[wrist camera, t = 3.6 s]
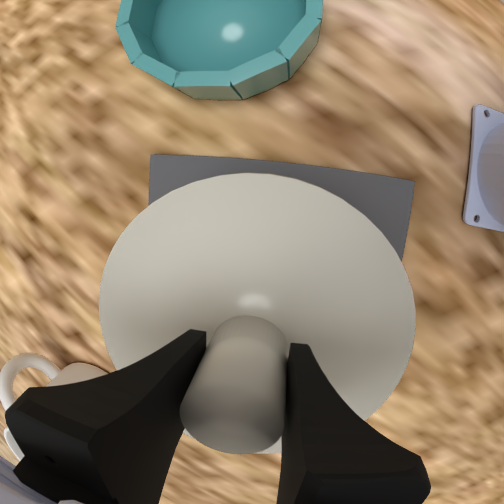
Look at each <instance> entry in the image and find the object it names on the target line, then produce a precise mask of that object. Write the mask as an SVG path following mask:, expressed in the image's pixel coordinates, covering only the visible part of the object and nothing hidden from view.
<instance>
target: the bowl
mask: <svg viewBox="0 0 504 504" xmlns="http://www.w3.org/2000/svg"><path fill="white" fill-rule="evenodd" d="M322 5H323V0H121V4H120V8H119V13H118V17H117V22H116V27H117V28H116V30H117V32H118V35H119V37H120V39H121V42H122V44H123V46H124V49H125V51H126V53H127V56H128V58H129V60H130V62H131V64H132V65H134V66H136V67H138V68H139V69H141V70H143V71H145V72H147V73H149V74H151V75H152V76H154V77H156V78H158V79H160V80H162V81H163V82H165V83H167V84H169V85H170V86H172V87H174V88H176V89H178V90H179V91H181V92H183V93H185V94H186V95H188V96H190V97H192V98H195V99H209V100H242V98H244V99H246V98H248V97H251V96H254V95H257V94H260V93H262V92H265V91H267V90H269V89H271V88H273V87H275V86H277V85H279V84H280V83H282V82H284V81H287V80H288V78H291V77H292V75H293V74H294V73H295V72H296V71H297V70H298V69H299V67H300V66H301V65H302V64H303V63H304V61H305V60H306V59H307V57H308V56H309V54H310V52H311V51H312V50H313V49H314V47H315V46H316V45H317V43H318V37H319V32H320V27H321V22H322Z"/></svg>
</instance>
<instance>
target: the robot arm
mask: <svg viewBox="0 0 504 504" xmlns="http://www.w3.org/2000/svg"><path fill="white" fill-rule="evenodd" d="M484 111H485V112H486V113H487V117H485V115H484ZM475 215H477V220H476V221H474V216H475ZM463 221H464V222H465V223H466V224H468V225H472V226H477V227H482V228H487V229H492V230H497V231H501V232H504V113H501V112H499V111H496V110H494V109H491V108H489V107H486V106H483V105H480V104H478V105H475V106H474V107H473V118H472V141H471V154H470V166H469V175H468V184H467V191H466V198H465V205H464V211H463ZM205 350H206V331H200V330H194V329H190V330H188V331H186V332H185V333H183V334H182V335H180V336H179V337H177V338H176V339H174V340H173V341H171V342H170V343H168V344H167V345H165V346H163V347H162V348H160V349H159V350H157V351H155V352H154V353H152V354H150V355H148V356H146V357H145V358H143V359H141V360H139V361H137V362H135V363H133V364H131V365H129V366H127V367H124V368H122V369H120V370H117V371H115V372H112V373H109V374H106V375H103V376H99V377H96V378H93V379H89V380H86V381H81V382H76V383H71V384H65V385H58V386H47V387H29V388H28V389H27V390H26V391H25V392H24V393H23V394H22V395H21V396H20V397H19V398H18V399H17V400H16V401H15V402H14V403H13V404H12V405H11V406H10V407H9V408H8V409H7V410H6V412H5V419H6V424H7V426H8V428H9V430H10V432H11V434H12V436H13V438H14V439H15V441H16V443H17V444H18V446H19V448H20V449H21V451H22V453H23V454H24V457H23V458H22V460H21V461H20V462H19V463H18V465H17V466H15V465H13V464H12V463H10V462H9V461H7V460H6V459H4V458H3V457H1V456H0V504H159V500H160V496H161V493H162V489H163V486H164V483H165V479H166V476H167V473H168V470H169V467H170V464H171V461H172V458H173V455H174V452H175V449H176V446H177V444H178V442H179V439H180V437H181V435H182V433H183V431H184V429H185V427H184V426H183V424H182V421H181V418H180V406H181V403H182V401H183V398H184V396H185V394H186V392H187V390H188V387H189V385H190V383H191V381H192V379H193V377H194V374H195V372H196V370H197V368H198V366H199V363H200V361H201V359H202V357H203V355H204V353H205ZM281 443H282V459H281V472H280V481H279V489H278V497H277V504H422V503H423V502H424V500H425V499H426V498H427V496H428V495H429V493H430V489H431V485H430V481H429V478H428V474H427V471H426V468H425V466H424V464H423V462H422V459H421V457H420V456H419V455H417V454H415V453H413V452H411V451H409V450H407V449H405V448H403V447H401V446H399V445H397V444H396V443H394V442H392V441H391V440H389V439H388V438H386V437H385V436H383V435H382V434H380V433H379V432H378V431H376V430H375V429H374V428H372V427H371V426H370V425H369V424H368V423H366V422H365V421H364V420H363V419H362V418H360V417H359V416H358V415H357V414H356V413H355V412H354V411H353V410H352V409H351V408H350V407H349V406H348V405H347V404H346V402H345V401H344V400H343V399H342V398H341V396H340V395H339V394H338V393H337V391H336V390H335V389H334V387H333V386H332V385H331V383H330V382H329V380H328V379H327V377H326V375H325V374H324V372H323V371H322V369H321V367H320V366H319V364H318V362H317V360H316V358H315V356H314V354H313V352H312V350H311V348H310V346H309V345H308V344H301V343H290V350H289V356H288V365H287V388H286V405H285V421H284V430H283V433H282V436H281Z"/></svg>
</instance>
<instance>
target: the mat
mask: <svg viewBox="0 0 504 504" xmlns="http://www.w3.org/2000/svg"><path fill="white" fill-rule="evenodd" d="M237 173H269V174H276V175H281V176H287V177H292V178H296V179H299V180H302V181H305V182H308V183H311V184H314V185H316V186H319V187H321V188H323V189H325V190H327V191H329V192H331V193H333V194H335V195H336V196H338V197H340V198H342V199H343V200H344V201H346V202H347V203H349V204H350V205H351V206H353V207H354V208H355V209H357V210H358V211H360V212H361V213H362V214H363V215H365V216H366V217H367V218H368V219H369V220H370V221H371V222H372V223H373V224H374V225H375V226H376V227H377V228H378V229H379V230H380V231H381V232H382V233H383V235H384V236H385V237H386V239H387V240H388V241H389V243H390V244H391V245H392V247H393V248H394V249H395V251H396V253H397V255H398V256H399V258H400V260H401V262H402V257H403V252H404V247H405V242H406V237H407V231H408V225H409V220H410V213H411V207H412V200H413V193H414V185H415V181H410V180H405V179H399V178H394V177H388V176H382V175H376V174H370V173H364V172H357V171H350V170H344V169H336V168H329V167H321V166H313V165H305V164H296V163H286V162H276V161H265V160H253V159H240V158H226V157H208V156H185V155H151V157H150V178H149V205H150V204H152V203H153V202H155V201H156V200H158V199H159V198H161V197H163V196H164V195H166V194H168V193H169V192H171V191H173V190H176V189H178V188H180V187H183V186H185V185H187V184H190V183H192V182H196V181H199V180H203V179H207V178H211V177H216V176H220V175H226V174H237Z"/></svg>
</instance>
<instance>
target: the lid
mask: <svg viewBox="0 0 504 504" xmlns="http://www.w3.org/2000/svg"><path fill="white" fill-rule="evenodd" d="M99 315H100V323H101V329H102V334H103V338H104V341H105V344H106V347H107V350H108V353H109V355H110V357H111V360H112V362H113V364H114V366H115V368H116V370H120V369H122V368H124V367H127V366H129V365H131V364H133V363H135V362H137V361H139V360H141V359H143V358H145V357H146V356H148V355H150V354H152V353H154V352H155V351H157V350H159V349H160V348H162V347H163V346H165V345H167V344H168V343H170V342H171V341H173V340H174V339H176V338H177V337H179V336H180V335H182V334H183V333H185V332H186V331H188V330H190V329H194V330H200V331H206V350H205V353H204V355H203V357H202V359H201V361H200V363H199V366H198V368H197V370H196V372H195V374H194V377H193V379H192V381H191V383H190V385H189V387H188V390H187V392H186V394H185V396H184V398H183V401H182V403H181V406H180V418H181V421H182V424H183V426H184V427H185V429H184V431H183V433H184V434H186V435H187V436H190V437H192V438H194V439H196V440H197V441H199V442H200V443H202V444H204V445H206V446H208V447H210V448H212V449H215V450H218V451H221V452H225V453H231V454H251V453H282V443H281V436H282V433H283V430H284V421H285V405H286V388H287V365H288V356H289V350H290V343H301V344H308V345H309V346H310V348H311V350H312V352H313V354H314V356H315V358H316V360H317V362H318V364H319V366H320V367H321V369H322V371H323V372H324V374H325V375H326V377H327V379H328V380H329V382H330V383H331V385H332V386H333V387H334V389H335V390H336V391H337V393H338V394H339V395H340V396H341V398H342V399H343V400H344V401H345V402H346V404H347V405H348V406H349V407H350V408H351V409H352V410H353V411H354V412H355V413H356V414H357V415H358V416H359V417H360V418H362V419H363V420H364V421H365V420H366V419H367V418H369V417H370V416H371V415H372V414H373V413H374V412H375V411H377V410H378V409H379V408H380V406H381V405H382V404H383V403H384V402H385V401H386V400H387V398H388V397H389V396H390V395H391V393H392V392H393V390H394V389H395V387H396V386H397V384H398V383H399V381H400V379H401V377H402V375H403V373H404V371H405V369H406V367H407V364H408V361H409V358H410V355H411V352H412V348H413V343H414V336H415V330H416V310H415V304H414V297H413V291H412V288H411V285H410V282H409V279H408V276H407V273H406V270H405V268H404V266H403V264H402V262H401V260H400V258H399V256H398V255H397V253H396V251H395V249H394V248H393V247H392V245H391V244H390V243H389V241H388V240H387V239H386V237H385V236H384V235H383V233H382V232H381V231H380V230H379V229H378V228H377V227H376V226H375V225H374V224H373V223H372V222H371V221H370V220H369V219H368V218H367V217H366V216H365V215H363V214H362V213H361V212H360V211H358V210H357V209H355V208H354V207H353V206H351V205H350V204H349V203H347V202H346V201H344V200H343V199H342V198H340V197H338V196H336V195H335V194H333V193H331V192H329V191H327V190H325V189H323V188H321V187H319V186H316V185H314V184H311V183H308V182H305V181H302V180H299V179H296V178H292V177H287V176H281V175H276V174H269V173H237V174H226V175H220V176H216V177H211V178H207V179H203V180H199V181H196V182H192V183H190V184H187V185H185V186H183V187H180V188H178V189H176V190H173V191H171V192H169V193H168V194H166V195H164V196H163V197H161V198H159V199H158V200H156V201H155V202H153V203H152V204H150V205H149V206H148V207H147V208H146V209H144V210H143V211H142V212H141V213H140V214H139V215H137V216H136V217H135V218H134V220H133V221H132V222H131V223H130V224H129V225H128V226H127V228H126V229H125V230H124V231H123V232H122V234H121V236H120V237H119V239H118V240H117V242H116V244H115V245H114V247H113V249H112V251H111V253H110V255H109V258H108V260H107V263H106V265H105V268H104V272H103V276H102V280H101V285H100V295H99Z"/></svg>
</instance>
